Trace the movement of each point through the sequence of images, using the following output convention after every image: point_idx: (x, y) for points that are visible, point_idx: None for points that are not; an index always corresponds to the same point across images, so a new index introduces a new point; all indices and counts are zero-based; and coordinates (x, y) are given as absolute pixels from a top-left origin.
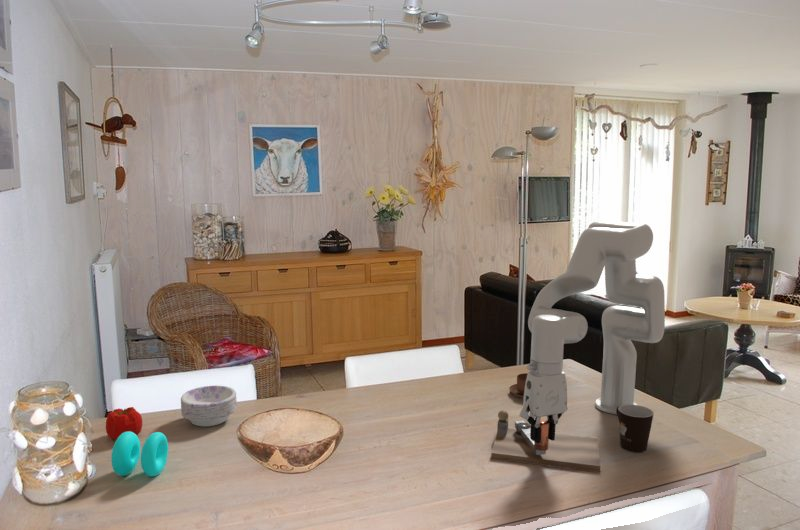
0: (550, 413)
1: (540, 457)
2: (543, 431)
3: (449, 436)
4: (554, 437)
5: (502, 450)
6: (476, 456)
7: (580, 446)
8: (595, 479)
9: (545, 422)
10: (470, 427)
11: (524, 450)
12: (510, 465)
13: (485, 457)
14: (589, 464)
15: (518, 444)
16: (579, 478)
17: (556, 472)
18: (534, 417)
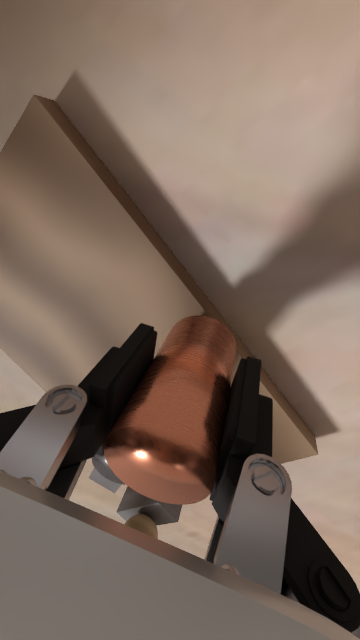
0: (115, 565)
1: None
2: (203, 399)
3: None
4: (137, 330)
5: None
6: (338, 469)
7: (10, 279)
8: (120, 53)
9: (141, 450)
10: (195, 528)
11: None
12: (310, 374)
13: (322, 450)
14: (69, 145)
15: None
16: (177, 116)
17: (216, 227)
18: (207, 552)
